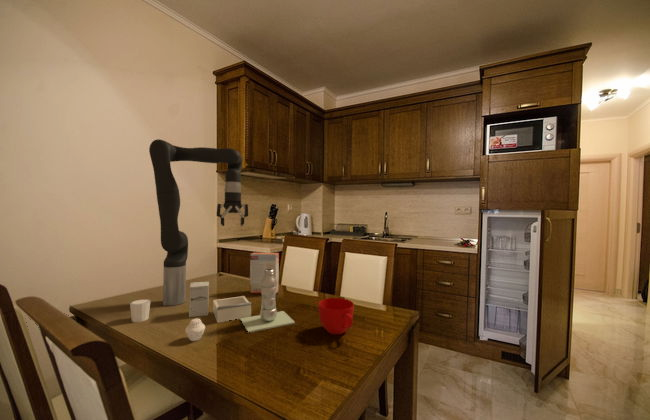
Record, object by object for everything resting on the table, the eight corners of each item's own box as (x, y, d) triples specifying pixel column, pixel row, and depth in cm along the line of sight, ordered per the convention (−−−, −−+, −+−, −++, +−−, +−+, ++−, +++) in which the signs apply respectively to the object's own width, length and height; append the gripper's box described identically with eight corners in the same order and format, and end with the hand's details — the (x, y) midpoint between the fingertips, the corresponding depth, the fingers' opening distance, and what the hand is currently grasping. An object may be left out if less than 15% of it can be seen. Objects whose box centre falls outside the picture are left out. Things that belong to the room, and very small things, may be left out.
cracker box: (278, 291, 150) (279, 252, 150) (275, 294, 144) (276, 254, 144) (253, 290, 151) (254, 251, 151) (249, 293, 145) (250, 253, 145)
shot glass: (154, 317, 112) (154, 300, 112) (136, 324, 105) (136, 305, 105) (143, 314, 115) (143, 297, 115) (125, 320, 108) (125, 302, 108)
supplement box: (188, 318, 112) (188, 286, 112) (190, 311, 119) (190, 282, 119) (208, 315, 114) (208, 285, 114) (208, 309, 121) (209, 280, 121)
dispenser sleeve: (217, 322, 107) (217, 307, 107) (213, 311, 119) (213, 297, 119) (251, 317, 114) (251, 302, 114) (244, 307, 125) (244, 293, 125)
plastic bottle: (279, 318, 111) (280, 268, 111) (271, 324, 105) (271, 272, 105) (265, 315, 114) (266, 267, 113) (256, 322, 107) (257, 270, 107)
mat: (248, 332, 99) (248, 331, 99) (240, 319, 111) (240, 318, 111) (294, 323, 108) (294, 321, 108) (283, 312, 119) (283, 310, 119)
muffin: (206, 334, 98) (207, 314, 98) (203, 342, 92) (203, 321, 92) (187, 335, 96) (188, 315, 96) (182, 344, 90) (183, 322, 90)
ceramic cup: (334, 347, 90) (334, 316, 90) (312, 327, 105) (312, 300, 105) (367, 338, 96) (367, 310, 96) (341, 321, 111) (342, 296, 111)
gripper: (218, 190, 126) (217, 226, 126) (249, 192, 132) (249, 226, 133) (216, 191, 132) (215, 225, 132) (246, 192, 139) (245, 225, 139)
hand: (232, 225), depth 132 cm, fingers open, 8 cm apart
